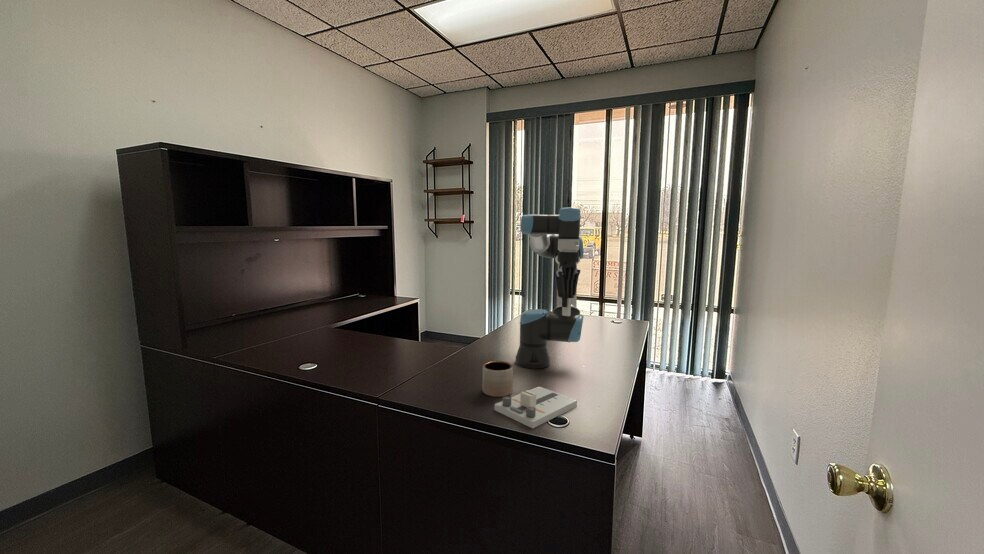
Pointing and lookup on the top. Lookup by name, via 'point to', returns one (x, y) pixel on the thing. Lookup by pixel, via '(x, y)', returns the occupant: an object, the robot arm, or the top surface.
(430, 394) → the top surface
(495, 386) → the planter
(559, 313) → the robot arm
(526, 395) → the fader
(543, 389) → the console
